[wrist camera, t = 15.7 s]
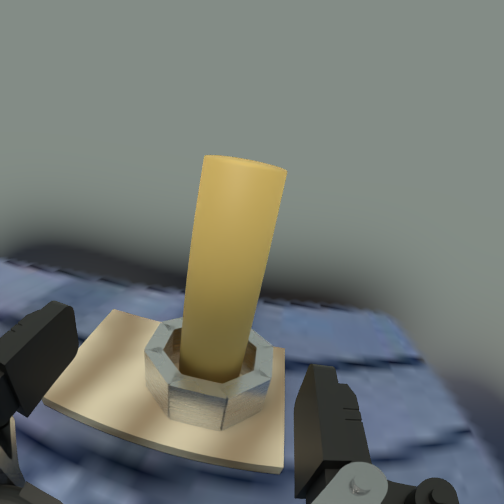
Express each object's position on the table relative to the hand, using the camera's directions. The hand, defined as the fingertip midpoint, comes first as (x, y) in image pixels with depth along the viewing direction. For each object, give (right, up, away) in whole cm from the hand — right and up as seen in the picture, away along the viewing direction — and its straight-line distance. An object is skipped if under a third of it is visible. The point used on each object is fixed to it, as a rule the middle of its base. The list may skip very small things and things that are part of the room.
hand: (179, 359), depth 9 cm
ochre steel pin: (-1, -7, +12) cm, 14 cm away
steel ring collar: (-1, -7, +13) cm, 14 cm away
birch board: (-4, -7, +13) cm, 15 cm away
